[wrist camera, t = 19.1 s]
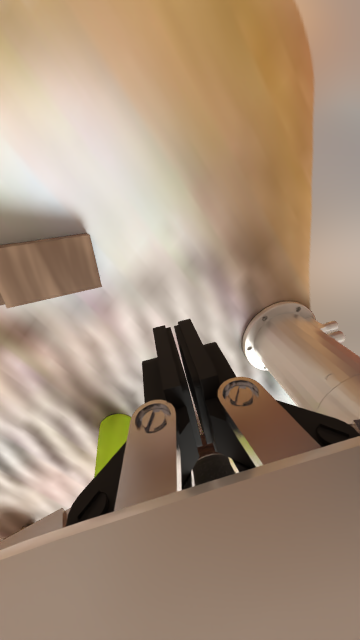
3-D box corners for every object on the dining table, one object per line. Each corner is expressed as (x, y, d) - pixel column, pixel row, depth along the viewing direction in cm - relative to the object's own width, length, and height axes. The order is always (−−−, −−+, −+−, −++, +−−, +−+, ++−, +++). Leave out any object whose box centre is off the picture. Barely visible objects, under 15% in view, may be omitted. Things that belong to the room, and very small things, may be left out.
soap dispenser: (118, 404, 41) (115, 559, 24) (140, 427, 45) (152, 578, 27) (88, 421, 42) (63, 586, 24) (112, 442, 45) (105, 601, 28)
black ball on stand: (161, 468, 51) (175, 563, 38) (195, 423, 47) (222, 512, 34) (213, 477, 56) (240, 563, 43) (247, 437, 52) (288, 519, 39)
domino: (89, 235, 28) (-19, 250, 24) (101, 286, 30) (7, 308, 27) (86, 233, 29) (-15, 247, 25) (98, 282, 32) (8, 302, 28)
